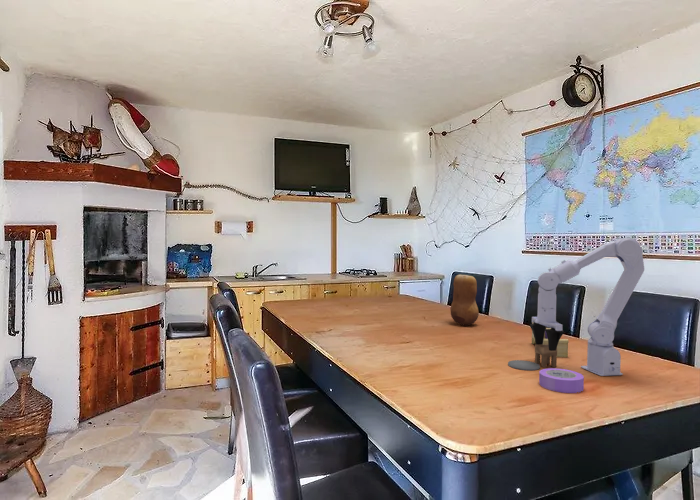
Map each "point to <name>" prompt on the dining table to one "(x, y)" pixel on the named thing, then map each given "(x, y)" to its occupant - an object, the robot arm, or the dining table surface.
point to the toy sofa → (561, 347)
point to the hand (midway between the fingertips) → (545, 347)
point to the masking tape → (561, 380)
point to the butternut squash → (464, 300)
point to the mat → (523, 365)
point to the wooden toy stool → (545, 355)
